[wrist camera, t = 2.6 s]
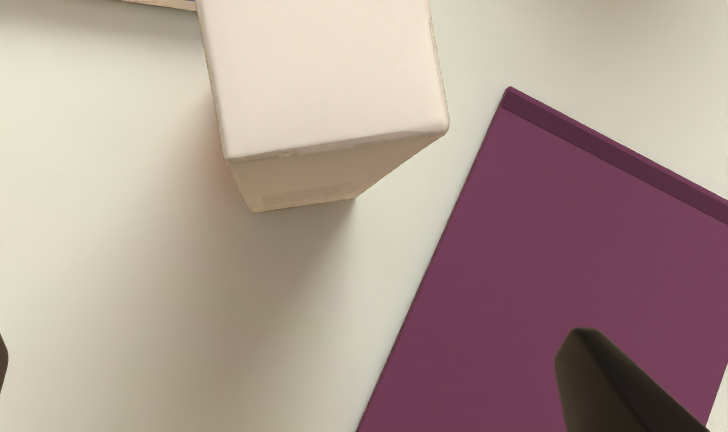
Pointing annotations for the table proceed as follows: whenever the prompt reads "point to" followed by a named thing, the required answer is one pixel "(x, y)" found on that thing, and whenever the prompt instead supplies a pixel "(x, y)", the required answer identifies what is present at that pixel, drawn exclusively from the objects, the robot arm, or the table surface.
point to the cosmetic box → (320, 93)
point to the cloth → (558, 281)
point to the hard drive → (170, 3)
